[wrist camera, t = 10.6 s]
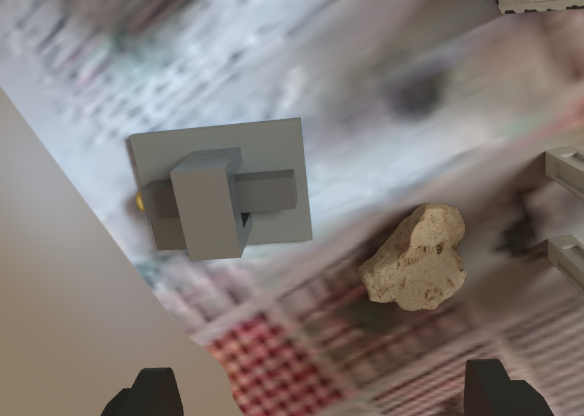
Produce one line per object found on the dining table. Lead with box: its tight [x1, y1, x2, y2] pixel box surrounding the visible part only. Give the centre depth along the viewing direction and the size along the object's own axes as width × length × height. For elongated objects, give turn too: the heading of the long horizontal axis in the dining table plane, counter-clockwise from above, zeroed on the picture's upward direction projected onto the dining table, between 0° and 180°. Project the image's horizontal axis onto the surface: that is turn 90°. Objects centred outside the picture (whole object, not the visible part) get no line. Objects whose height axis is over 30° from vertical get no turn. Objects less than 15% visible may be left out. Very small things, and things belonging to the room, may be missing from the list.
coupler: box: [129, 118, 312, 250], centre depth 40 cm, size 12×16×4 cm
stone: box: [358, 203, 467, 311], centre depth 41 cm, size 9×11×5 cm
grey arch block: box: [170, 147, 253, 261], centre depth 38 cm, size 8×4×6 cm, turn 6°
